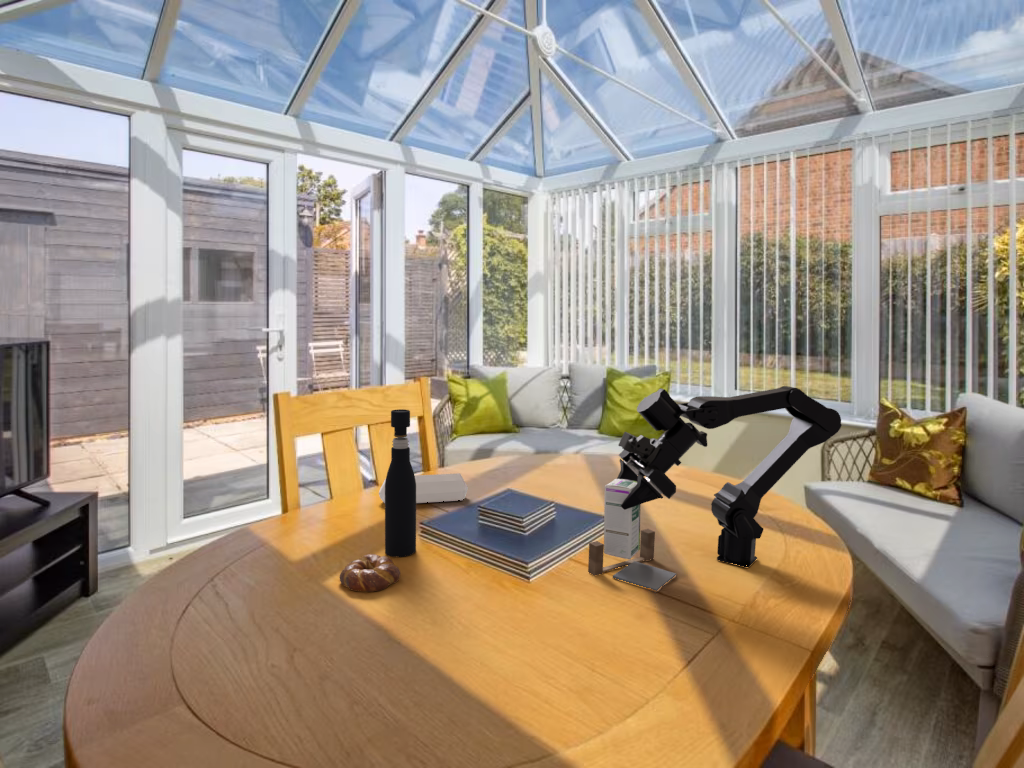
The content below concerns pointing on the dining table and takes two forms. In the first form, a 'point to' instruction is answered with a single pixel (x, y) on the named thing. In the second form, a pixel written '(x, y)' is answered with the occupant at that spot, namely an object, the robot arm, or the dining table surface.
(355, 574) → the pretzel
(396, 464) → the black water bottle
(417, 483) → the crystal
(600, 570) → the gate
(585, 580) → the dining table surface
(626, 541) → the syrup box
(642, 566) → the slate tile
